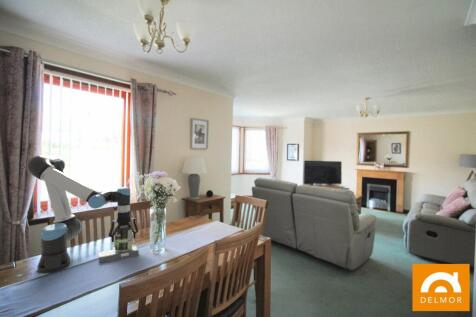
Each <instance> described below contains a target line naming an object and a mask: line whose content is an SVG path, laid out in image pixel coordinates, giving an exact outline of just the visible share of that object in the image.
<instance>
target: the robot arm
mask: <svg viewBox="0 0 476 317" xmlns="http://www.w3.org/2000/svg"><path fill="white" fill-rule="evenodd" d="M65 168H66V163H65V161H64V159H63V158H62V157H60V156H58V155H53V154H48V155H47V154H45V155H36V156H32V157H31V158H29V159H28V160H27V162H26V170H27V172H28V174H30V175H31V176H33V177H35V178H36V179H38V180H41V181H43V182H44V184H45V187H46V191H47V194H48V198H49V201H50V205H51V209H52V212H53V215H54V218H55V219H54V220H53V222H52V224H48V225H46V226H44V227H43V228H42V230H41V234H40V243H41V244H40V248H41V250H40V252H41V254H40V259H39V261H38V264H37V267H36V270H37V272H38V273H41V274H47V273H49V274H50V273H55V272H58V271H61V270H64V269H66V268H67V267H69V266H70V265H71V262H72V260H71V257H70V254H69V253H68V242H69V241H70V240H72V239H74V238H75V237H77V236H78V235H79V234H80V233H81V231H82V228H83V227H82V222H81V220H80V219H78V218H77V217H76V215H75V214H73V213H72V209H71V206H70V202H69V199H68V194H67V193H69V194H71V195H72V196H75V197H76V198H79V199H80V200H83V201H85V202H86V203H87V204H88V206H89V207H90V208H91V209H95V210H97V209H99V208H102V207H103V206H105V205H107V204H109V203H117V206H116V207H117V216H116V220H114V219H113V220H111V225H110V226H111V227H110V229H109V232H108V238H109V237H110V238H111V242H112V243H113V248H115V234H116V230H115V228H114V227H116V229H119V228H120V226H126V225H128V226H129V227H131V225H132V224H130V222H132V223H133V227H134V228H133V227H132V245H134V239H136V235H137V233H139V229H138V227H137V223H136V218H135V217H132V218H131V188H130V187H129V186H121V187H118V188H117V190H98V191H97V190H95V189H93V188H91V187H90V186H87V185H86V184H83V183H82V182H80V181H78V180H76V179H74V178H73V177H71V176H69V175H67V174H65V173H64V169H65ZM116 223H117V226H115V224H116ZM134 229H135V230H134Z"/></svg>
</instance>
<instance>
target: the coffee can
mask: <svg viewBox="0 0 476 317" xmlns="http://www.w3.org/2000/svg"><path fill="white" fill-rule="evenodd" d="M130 225H131V227H129V226H128V225H126V226H120V228H119V229H116V227H117V226H114V227H115V228H114V230H116V234H115V247H114V249H115V251H118V252H123V251H128V250H130V249H131V248H132V246H133V244H132V233H133V232H132V228H133V227H134V225H132V224H130Z"/></svg>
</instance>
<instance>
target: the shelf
mask: <svg viewBox="0 0 476 317" xmlns="http://www.w3.org/2000/svg"><path fill="white" fill-rule="evenodd" d="M139 251H140V250H138V247H137V246H136V245H132V248H131V249H130V250H128V251H123V252H118V251H115V248H114V249H108V250H103V251H98V264H100V263H105V262H106V263H107V262H111V261H115V260H116V261H117V260H121V259H126V258H132V257H136V256H137V257H139V255H140V254H139Z"/></svg>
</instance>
